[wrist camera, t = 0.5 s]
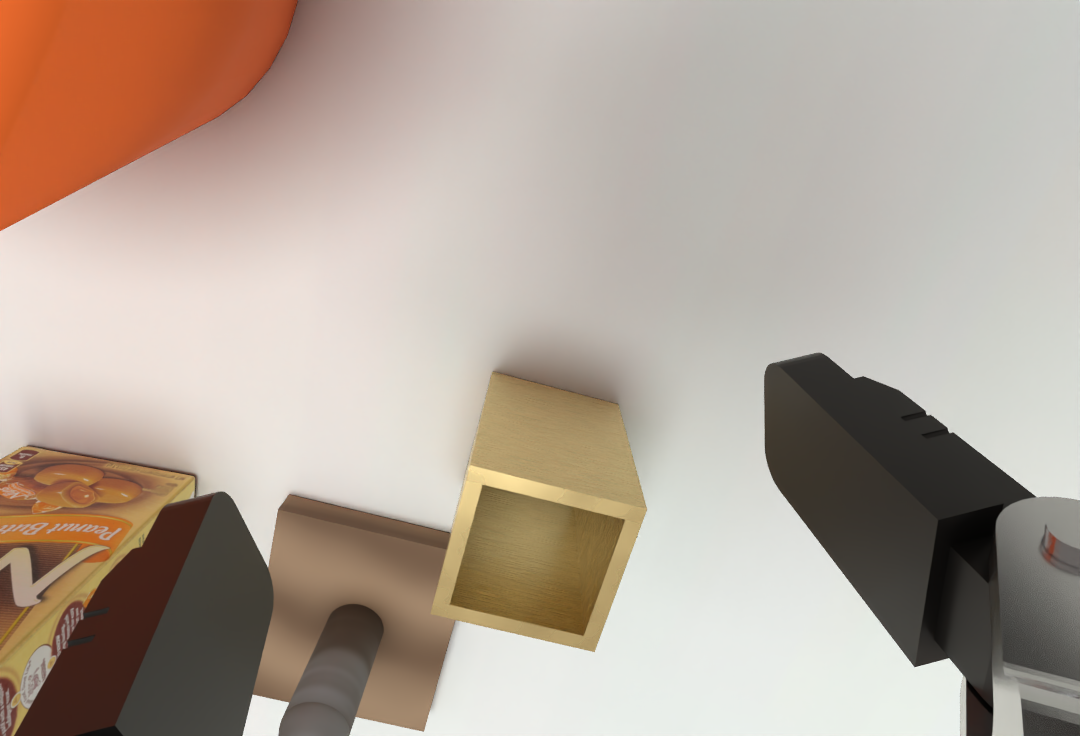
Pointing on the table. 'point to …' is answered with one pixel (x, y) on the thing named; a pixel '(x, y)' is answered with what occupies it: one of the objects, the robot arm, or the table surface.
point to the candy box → (63, 553)
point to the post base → (362, 576)
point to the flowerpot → (117, 83)
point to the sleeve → (542, 516)
